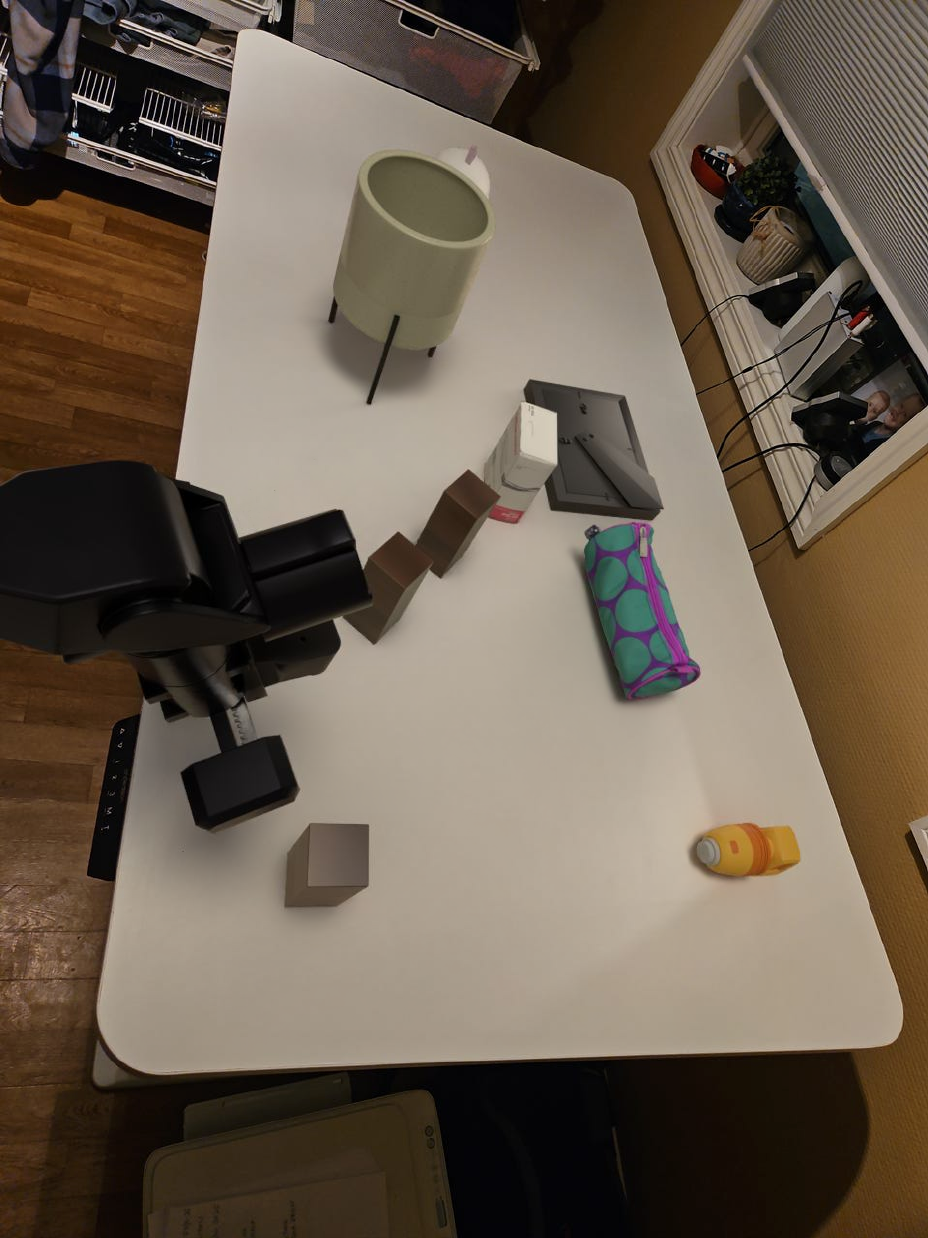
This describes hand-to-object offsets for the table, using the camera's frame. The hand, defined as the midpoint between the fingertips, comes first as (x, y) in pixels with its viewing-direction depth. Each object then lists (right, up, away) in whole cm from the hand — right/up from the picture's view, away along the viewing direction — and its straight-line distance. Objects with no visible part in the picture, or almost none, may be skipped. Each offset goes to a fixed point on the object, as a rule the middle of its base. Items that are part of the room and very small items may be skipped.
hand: (230, 712), depth 54 cm
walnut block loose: (+4, -16, +9) cm, 19 cm away
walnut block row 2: (+14, +14, +30) cm, 36 cm away
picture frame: (+35, +30, +47) cm, 65 cm away
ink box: (+22, +23, +38) cm, 49 cm away
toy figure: (+47, -19, +25) cm, 56 cm away
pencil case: (+36, +6, +34) cm, 50 cm away
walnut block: (+8, +7, +23) cm, 25 cm away
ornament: (+15, +71, +61) cm, 94 cm away
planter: (+6, +41, +41) cm, 58 cm away
